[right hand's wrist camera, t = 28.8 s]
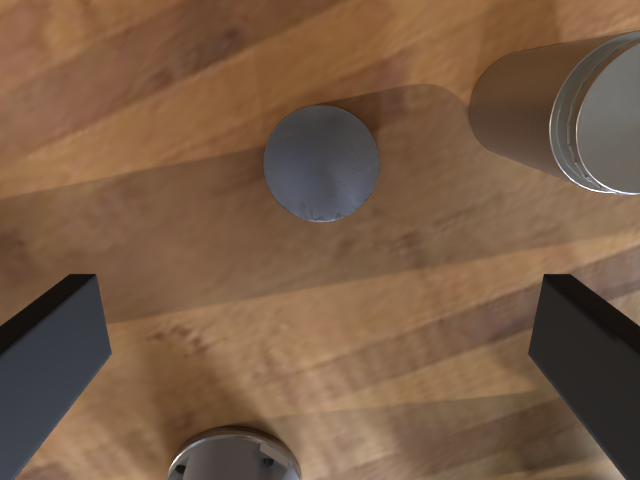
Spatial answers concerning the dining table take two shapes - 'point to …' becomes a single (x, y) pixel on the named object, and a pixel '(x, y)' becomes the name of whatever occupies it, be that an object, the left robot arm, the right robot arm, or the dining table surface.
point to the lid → (321, 163)
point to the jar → (566, 111)
